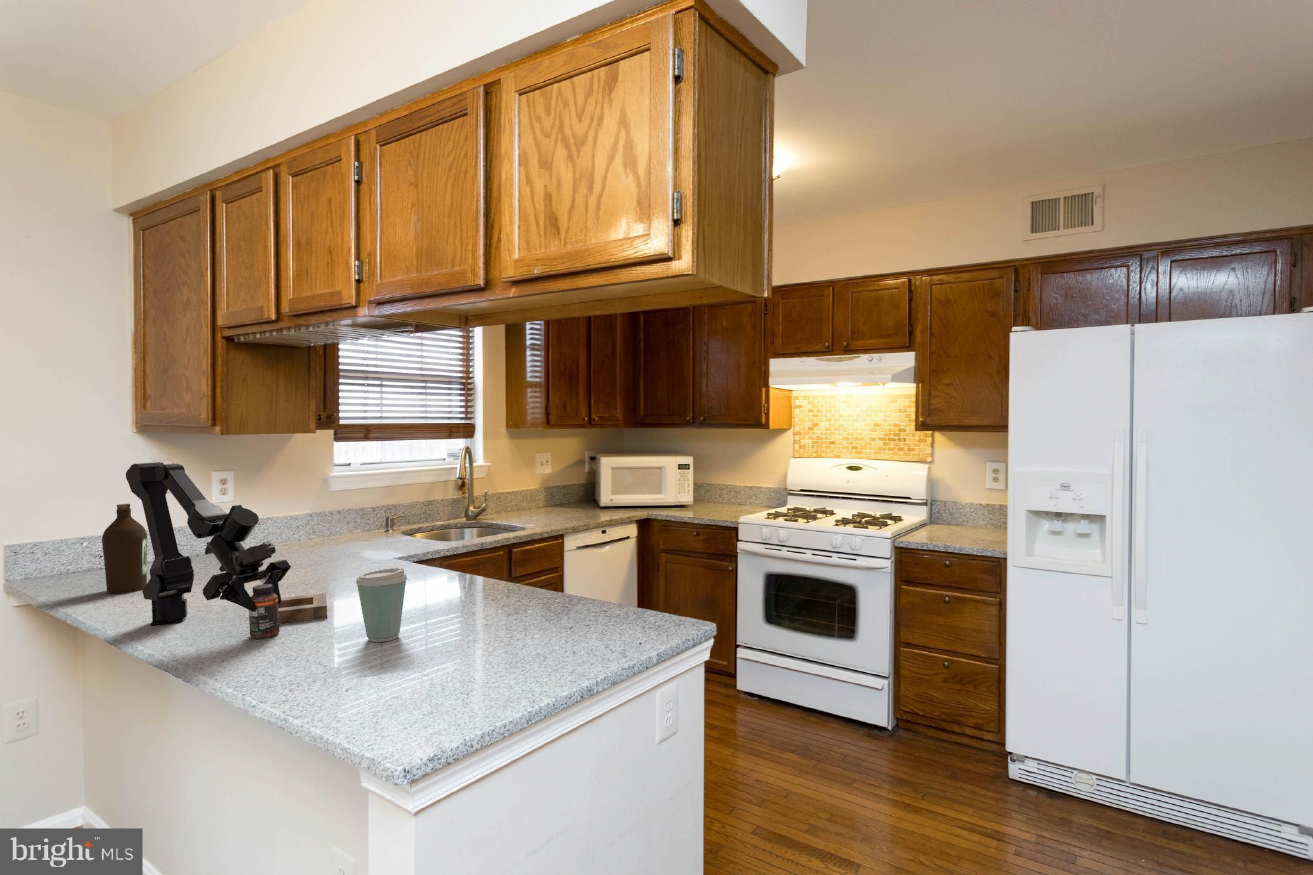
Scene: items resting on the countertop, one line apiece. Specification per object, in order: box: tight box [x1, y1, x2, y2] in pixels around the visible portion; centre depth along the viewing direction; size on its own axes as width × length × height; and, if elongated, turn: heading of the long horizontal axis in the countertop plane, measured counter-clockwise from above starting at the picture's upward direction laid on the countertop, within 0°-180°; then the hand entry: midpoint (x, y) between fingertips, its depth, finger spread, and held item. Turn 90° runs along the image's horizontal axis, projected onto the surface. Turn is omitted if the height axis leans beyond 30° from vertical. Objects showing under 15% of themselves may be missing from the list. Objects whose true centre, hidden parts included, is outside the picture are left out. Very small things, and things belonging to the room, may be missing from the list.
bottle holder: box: [278, 592, 328, 625], centre depth 181 cm, size 14×14×3 cm
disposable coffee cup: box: [355, 567, 408, 643], centre depth 160 cm, size 11×11×15 cm
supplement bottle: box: [248, 583, 280, 640], centre depth 163 cm, size 6×6×11 cm
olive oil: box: [101, 503, 148, 595], centre depth 210 cm, size 11×11×25 cm
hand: (268, 606), depth 163 cm, fingers closed on supplement bottle, 6 cm apart
